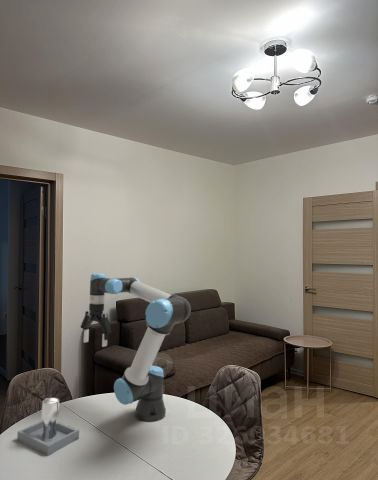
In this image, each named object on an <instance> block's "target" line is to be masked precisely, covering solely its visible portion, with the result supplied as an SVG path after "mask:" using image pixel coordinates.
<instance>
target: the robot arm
mask: <svg viewBox="0 0 378 480" xmlns="http://www.w3.org/2000/svg"><path fill="white" fill-rule="evenodd" d="M89 284H90V285H89V304H88V310H86V311H85V313H84V314H85V315H84V317H83V320H82V322H81V324H80V328H81V329H82V330H83V332H82V334H83V341H82V342H83V343H84V344H85V343H89V337H90V329H89V327H90V326H91V325H92V323H93V322H97V323H98V324H99V326H100V328H101V330H102V332H103V333H102V336H101V337H102V340H101V347H102V348H104V347H107V346H108V340H109V334H110V333H112V331H113V330H112V326H111V324H110V321H109V316H108V313H107V312H106V313H104V310H105V295H106V294H110V295H118V294H120V293H121V294H122V293H129V295H130V294H131V295H133V296H135V297H137V298H139V299H142V300H144V301H145V302H148V303H149V304H148V305H147V307H146V309H145V314H144V315H145V316H146V317H145V321H146V326H147V329H146V331H145V333H144V336H143V338H142V340H141V342H140V344H139V346H138V349H137V352H136V353H135V356H134V359H133V361H132V364H131V366H130V367H129V366H128V367H127V368H126V369H125V370H124V373H123V375H122V377H119V378H117V379H116V380H115V381H114V384H113V391H114V395H115V398H116V399H117V401H118V402H119V403H120V404H122V405H129V404H132V403H134V402H137V404H136V408H135V409H134V410H135V412H134V416H135V418H136V419H138V420H139V421H144V422H155V421H156V420H157V421H160V420H162V419H164V418H165V417H166V415H165V414H167V412H166V411H167V409H166V406H165V402H164V398H163V397H164V396H163V395H164V377H165V376H164V370H163V368H162V367H161V366H156V365H153V364H154V361H155V359H156V358H157V354H158V353H159V351H160V348H161V346H162V343H163V341H164V339H165V337H166V336H168V335H170V334H171V332H172V330H173V327H174V326H175V325H176V324H181V323H184V322H185V321H187V320H188V318H189V317H190V315H191V312H192V311H191V310H192V309H191V308H192V307H191V304H190V302H189V301H188V299H186V298H184V297H182V296H181V295H178V294H176V293H173V294H172V293H171V294H169V293H167V292H166V291H162V290H160V289H158V288H156V287H153V286H151V285H148V284H145V283H143V282H141V281H140V280H139V278H137V277H123V278H122V277H121V278H120V277H117V278H116V277H115V278H113V277H112V278H109V277H108V278H107V277H106V274H105V273H92V274H90V281H89ZM164 416H165V417H164ZM163 417H164V418H163ZM161 418H162V419H161ZM159 419H160V420H159Z"/></svg>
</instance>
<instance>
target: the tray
mask: <svg viewBox="0 0 378 480" xmlns="http://www.w3.org/2000/svg"><path fill="white" fill-rule="evenodd" d="M42 432H43V425H42V420H40V421H38V422H36V423H34V424H31V425H29V426H27V427H24V428H23V429H20V430H18V431H17V436H16V437H17V439H16V440H17V441H18V442H20V443H22V444H24V445H26V446H28V447H30V448H32V449H34V450H36V451H38V452H40V453H42V454H44V455H46V456H50V455H52V454H53V453H55V452H58V451H59V450H62V449H63V448H65V447H66V446H68V445H70V444H73V442H76V441H78V440H79V436H80V429H79V430H78V429H76V428H74V427H71V426H69V425H68V424H65V423H62V422H59V421H57V425H56V432H57V437H56V438H55V439H53V440H51V441H43V440H42V439H41V437H42Z"/></svg>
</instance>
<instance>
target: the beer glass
mask: <svg viewBox="0 0 378 480" xmlns="http://www.w3.org/2000/svg"><path fill="white" fill-rule="evenodd" d="M41 404H42V406H41V414H40V415H41V421H42V425H43V432H42V437H41V439H42V440H43V441H51V440H53V439H55V438H56V437H57V432H56V425H57V421H58V419H59V416H60V415H59V414H60V399H59V398H57V397H48V398H45V399H43V400H42V403H41ZM58 422H59V421H58Z"/></svg>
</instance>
